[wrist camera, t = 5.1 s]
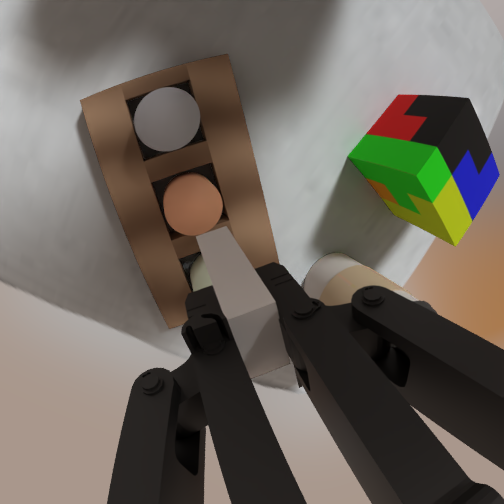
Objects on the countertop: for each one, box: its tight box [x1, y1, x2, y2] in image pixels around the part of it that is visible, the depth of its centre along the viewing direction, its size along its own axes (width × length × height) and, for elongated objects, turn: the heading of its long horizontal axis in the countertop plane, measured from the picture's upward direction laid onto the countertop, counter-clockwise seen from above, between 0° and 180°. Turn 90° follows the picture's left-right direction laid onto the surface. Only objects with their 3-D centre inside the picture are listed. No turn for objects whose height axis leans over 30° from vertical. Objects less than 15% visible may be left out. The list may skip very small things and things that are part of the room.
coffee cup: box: [304, 253, 437, 314], centre depth 29 cm, size 9×9×15 cm
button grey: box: [134, 87, 200, 151], centre depth 21 cm, size 4×4×3 cm
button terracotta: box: [163, 172, 223, 236], centre depth 25 cm, size 4×4×3 cm
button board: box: [80, 54, 279, 329], centre depth 26 cm, size 22×12×2 cm, turn 14°
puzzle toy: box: [348, 95, 499, 246], centre depth 27 cm, size 10×10×10 cm
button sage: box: [190, 254, 212, 291], centre depth 27 cm, size 4×4×3 cm
